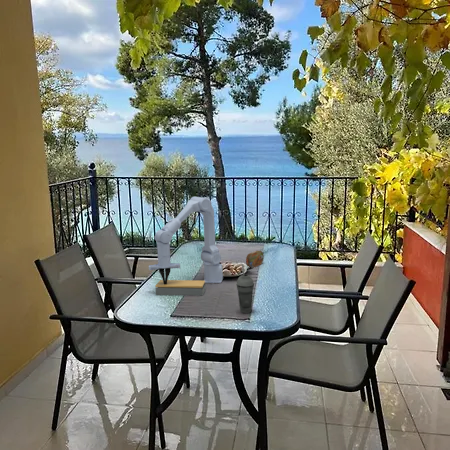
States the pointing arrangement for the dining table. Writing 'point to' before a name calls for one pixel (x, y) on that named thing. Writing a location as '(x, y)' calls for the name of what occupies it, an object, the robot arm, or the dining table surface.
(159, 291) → the cable duct
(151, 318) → the dining table surface
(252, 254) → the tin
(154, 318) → the dining table surface
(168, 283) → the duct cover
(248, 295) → the beverage cup
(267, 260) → the dining table surface
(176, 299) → the dining table surface
